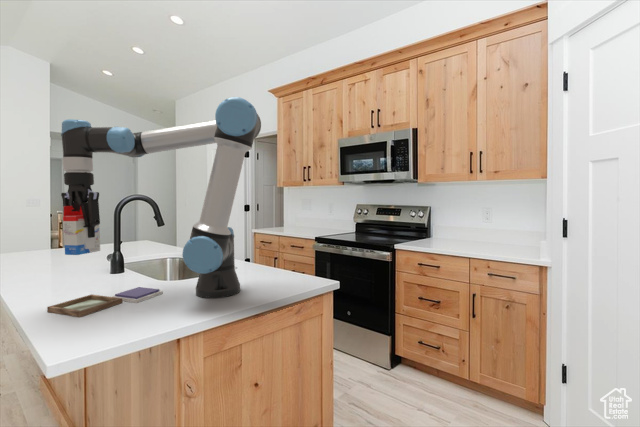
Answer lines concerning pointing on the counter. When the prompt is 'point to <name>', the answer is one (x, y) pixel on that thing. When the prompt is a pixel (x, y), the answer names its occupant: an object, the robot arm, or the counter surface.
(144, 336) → the counter surface
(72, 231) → the ink box
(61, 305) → the frame
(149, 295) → the ink pad
